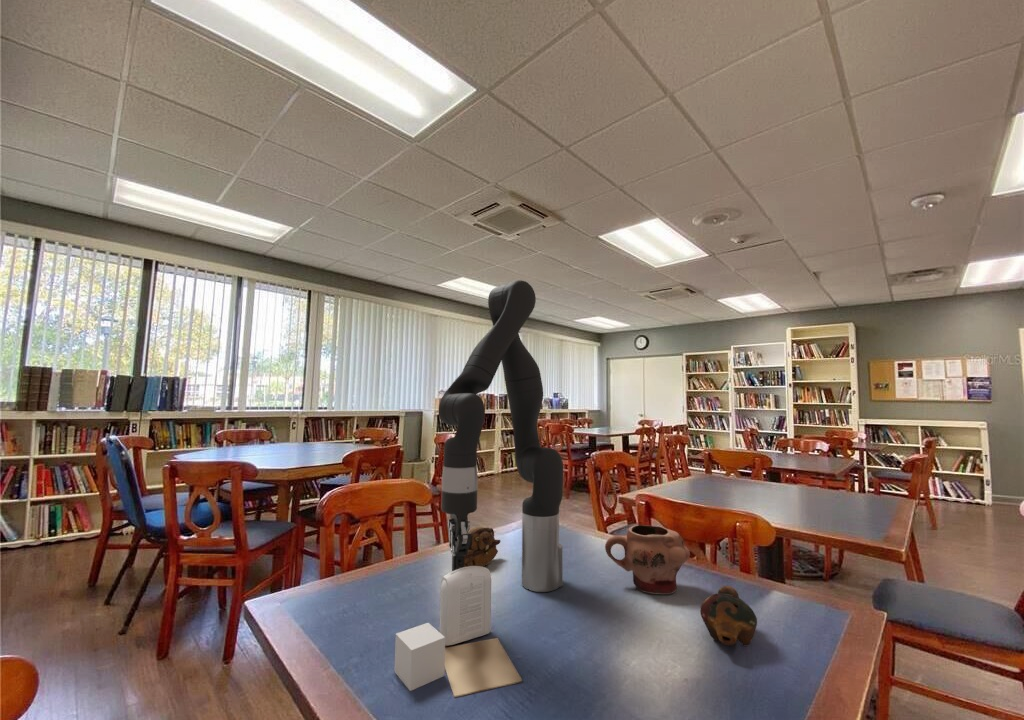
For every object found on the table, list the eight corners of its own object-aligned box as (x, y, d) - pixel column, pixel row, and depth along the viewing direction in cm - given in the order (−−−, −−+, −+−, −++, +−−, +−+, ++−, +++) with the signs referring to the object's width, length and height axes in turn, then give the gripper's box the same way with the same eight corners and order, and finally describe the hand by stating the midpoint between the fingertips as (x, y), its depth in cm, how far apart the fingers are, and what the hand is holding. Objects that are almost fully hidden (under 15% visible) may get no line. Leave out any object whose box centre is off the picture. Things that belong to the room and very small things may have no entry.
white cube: (394, 672, 69) (395, 633, 70) (427, 659, 73) (428, 622, 74) (410, 691, 65) (411, 650, 65) (444, 676, 68) (445, 637, 69)
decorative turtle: (753, 626, 85) (751, 585, 85) (764, 669, 71) (761, 619, 72) (701, 616, 89) (699, 576, 89) (701, 655, 75) (699, 607, 76)
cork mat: (497, 639, 79) (497, 637, 79) (522, 681, 67) (522, 680, 67) (438, 650, 76) (438, 648, 76) (454, 697, 63) (454, 696, 63)
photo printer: (483, 624, 84) (483, 559, 86) (494, 633, 81) (494, 565, 83) (435, 639, 79) (436, 569, 80) (445, 650, 75) (446, 576, 77)
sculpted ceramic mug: (611, 598, 96) (610, 535, 98) (601, 576, 108) (600, 521, 110) (699, 600, 96) (697, 536, 97) (679, 578, 108) (678, 522, 110)
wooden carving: (467, 578, 107) (468, 537, 108) (453, 574, 109) (454, 534, 110) (503, 559, 120) (503, 522, 121) (490, 555, 123) (490, 520, 124)
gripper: (485, 492, 84) (483, 584, 82) (469, 481, 97) (467, 560, 95) (447, 495, 82) (445, 589, 80) (436, 483, 94) (434, 564, 92)
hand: (457, 573), depth 87 cm, fingers closed
